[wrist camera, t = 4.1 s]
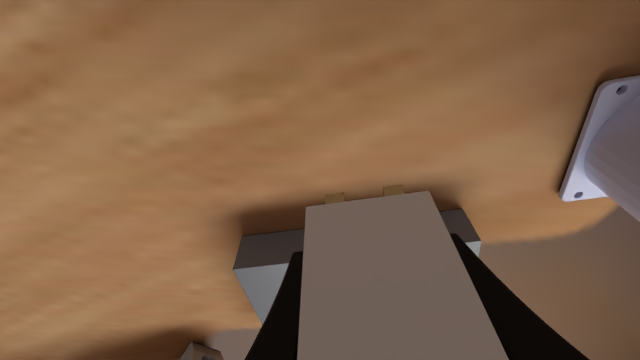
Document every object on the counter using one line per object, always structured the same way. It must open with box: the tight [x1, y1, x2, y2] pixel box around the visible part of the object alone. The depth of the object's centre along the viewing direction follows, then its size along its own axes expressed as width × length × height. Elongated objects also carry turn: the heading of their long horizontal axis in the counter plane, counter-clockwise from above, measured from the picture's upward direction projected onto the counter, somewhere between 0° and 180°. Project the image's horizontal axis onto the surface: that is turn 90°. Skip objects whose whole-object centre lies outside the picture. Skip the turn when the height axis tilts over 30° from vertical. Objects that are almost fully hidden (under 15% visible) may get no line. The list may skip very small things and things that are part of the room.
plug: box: [297, 185, 509, 360], centre depth 9 cm, size 4×4×8 cm
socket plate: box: [233, 209, 481, 325], centre depth 24 cm, size 16×12×3 cm
